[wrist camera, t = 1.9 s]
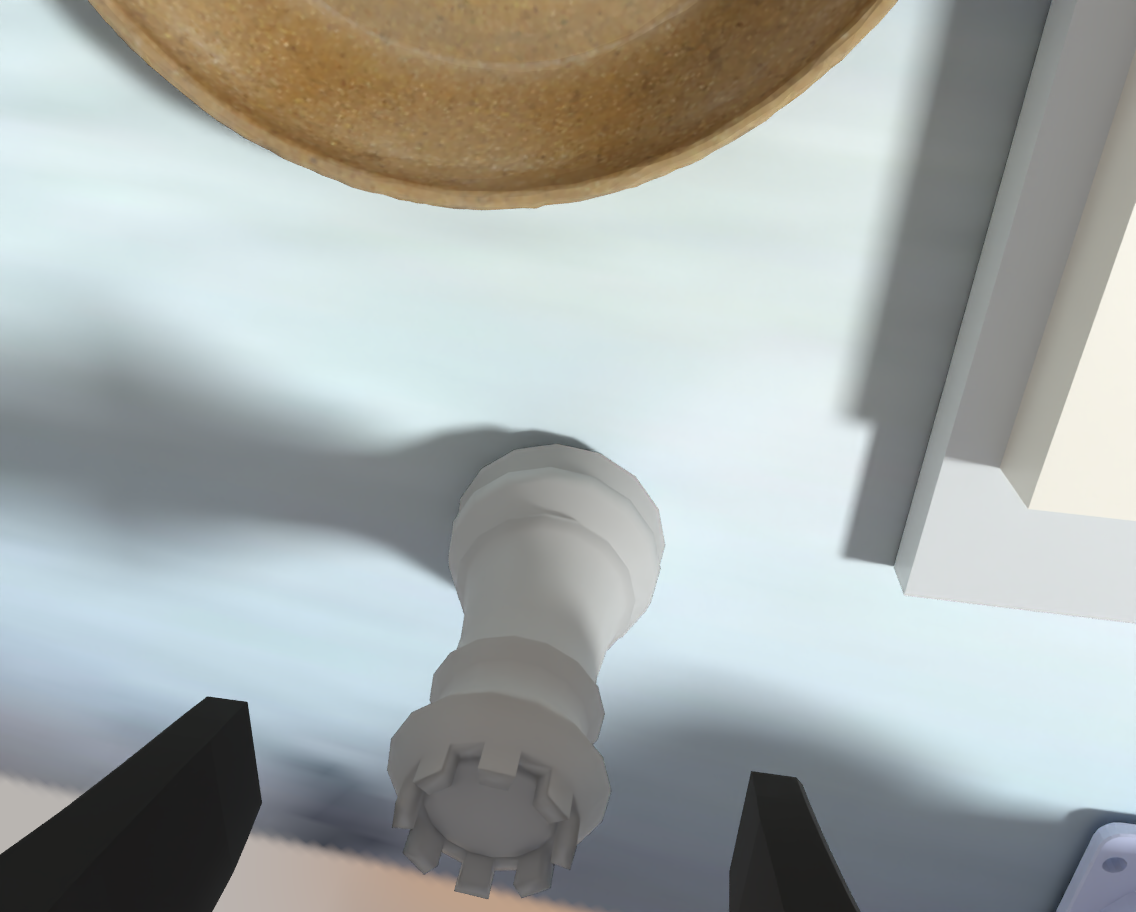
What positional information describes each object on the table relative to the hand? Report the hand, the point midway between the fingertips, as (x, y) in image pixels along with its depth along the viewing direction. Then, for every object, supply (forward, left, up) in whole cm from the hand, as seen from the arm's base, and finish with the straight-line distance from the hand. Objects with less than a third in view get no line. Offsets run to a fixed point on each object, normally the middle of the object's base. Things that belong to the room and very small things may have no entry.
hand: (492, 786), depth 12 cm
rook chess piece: (0, 0, -7) cm, 7 cm away
